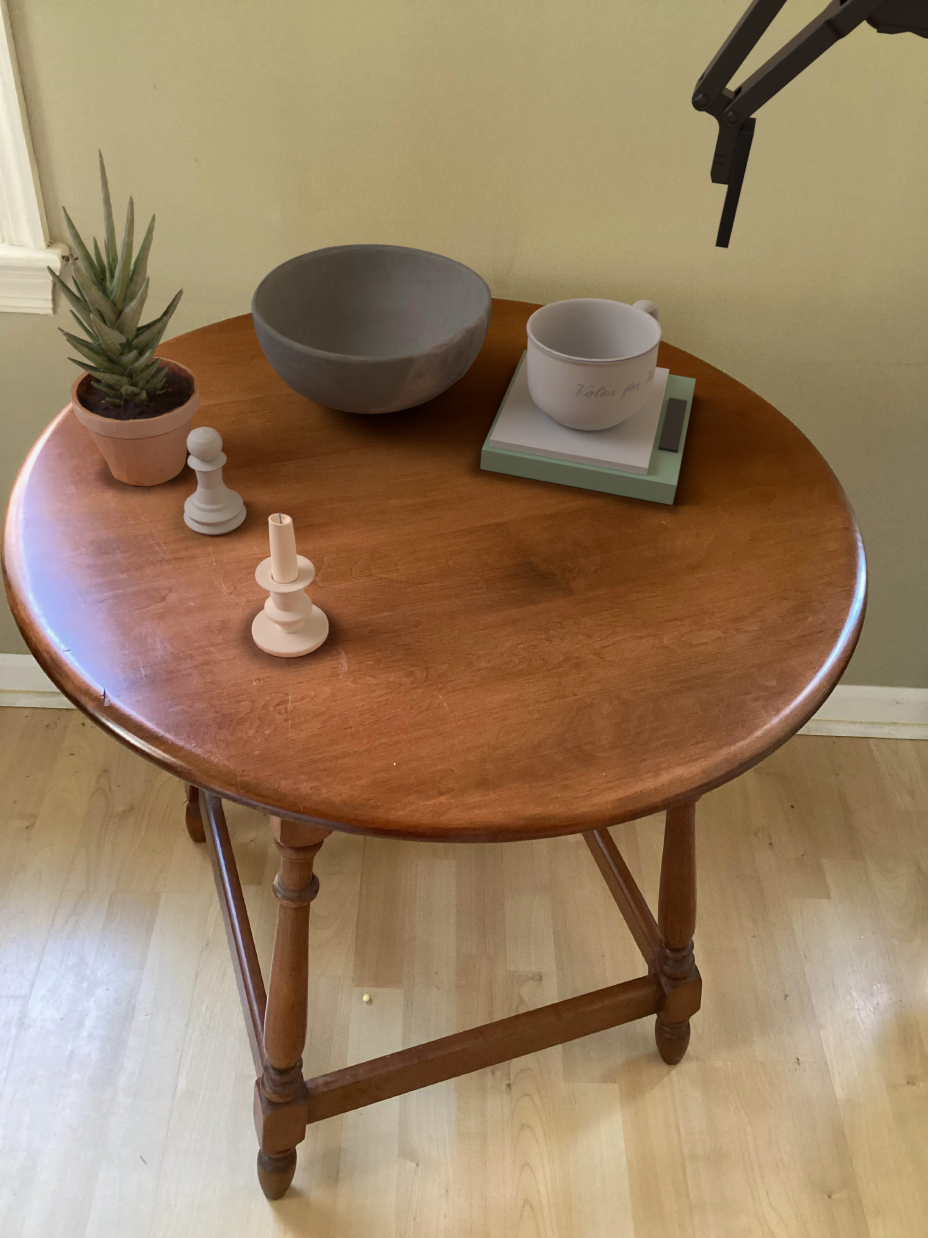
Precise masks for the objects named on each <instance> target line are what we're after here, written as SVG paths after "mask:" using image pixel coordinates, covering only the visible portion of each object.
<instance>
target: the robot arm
mask: <svg viewBox="0 0 928 1238" xmlns="http://www.w3.org/2000/svg"><path fill="white" fill-rule="evenodd" d="M787 1H788V0H752V1H751V2H750V4H749V5H748V7H747V8H746V10H745V11H744V13H743V14H742V16H741V17H740V18H739V20H738V21H737V23H736V24H735V25H734V27H733V29H732V30H731V31H730V33H729V35H728V36H727V37H726V39H725V40H724V41H723V43H722V44H721V46H720V47H719V49H718V50H717V51H716V53H715V54H714V56H713V57H712V59H711V61H710V62H709V63H708V64H707V66H706V68H705V69H704V70H703V72H702V74H700V76H699V77H698V78H697V81H696V83H695V86H694V88H693V89H694V90H693V93H692V95H691V105H692V107H693V109H694V110H695V111H697V112H700V113H701V112H702V113H703V112H705V113H706V114H708V115H710V116H712V117H713V118H714V119H715V120H716V121H717V124H718V133H717V137H716V138H717V139H716V143H715V148H714V152H713V159H712V163H711V167H710V171H709V172H710V173H709V175H710V181H711V184H718V185H723V186H727V188H726V192H725V197H724V202H723V205H722V206H723V207H722V210H721V215H720V220H719V225H718V229H717V233H716V234H717V235H716V239H715V246H714V247H715V248H723V249H729V246H730V241H731V236H732V232H733V228H734V224H735V219H736V214H737V210H738V207H739V203H740V198H741V193H742V188H743V185H744V181H745V180H744V179H745V175H746V171H747V167H748V162H749V157H750V155H751V154H750V153H751V149H752V145H753V141H754V136H755V129H756V123H757V117H751V116H753V115H754V114H755V113H756V112H757V111H758V110H760V109H761V108H762V107H763V106H764V105H765V104H766V103H768V102H769V101H770V100H771V99H773V97H775V96H776V95H777V94H778V93H779V92H780V91H781V90H783V89H784V88H785V87H787V85H788V84H790V83H791V82H793V80H794V79H796V78H797V77H798V76H799V75H800V74H801V73H803V72H804V71H805V70H806V69H807V68H809V66H810V65H811V64H812V63H814V62H815V61H816V60H817V59H819V58H820V57H821V56H822V55H823V54H824V53H826V51H828V50H829V49H830V48H831V47H832V46H834V45H835V44H836V43H837V42H838V41H840V40H842V39H844V38H846V37H847V36H848V35H850V34H851V33H852V32H853V31H854V30H855V29H857V28H858V26H860V25H861V24H862V23H864V21H865V23H866V24H867V25H869V27H871V28H872V29H875V30H876V33H877V34H884V35H898V34H899V35H900V34H903V33H911V34H913V35H917V36H918V37H920V38H923V39H926V40H928V0H831V1H830V2H829V3H828V5H827V6H826V7H825V8H824V9H823V10H822V11H821V12H820V13H819V14H818V15H817V16H815V17H814V18H813V19H812V20H810V21H809V22H808V24H806V25H805V26H804V27H803V28H802V29H801V30H800V31H799V32H797V33H796V34H795V35H794V36H793V37H792V38H791V39H790V40H789V41H788V42H786V43H785V44H784V45H783V46H782V47H781V48H780V49H778V50H777V52H775V53H774V54H773V55H772V56H771V57H769V59H768V60H766V61H765V62H764V63H763V64H762V65H761V66H759V67H758V68H757V69H756V70H755V71H754V72H753V73H752V74H751V75H749V76H748V77H747V78H746V79H745V80H744V81H743V82H741V84H740V85H738V86H737V87H736V88H735V89H734V90H732V89H730V88H728V87H727V86H728V84H729V83H730V81H731V80H732V79H733V77H734V76H735V74H736V73H737V72H738V70H739V69H740V67H741V66H742V65H743V63H744V62H745V61H746V59H747V58H748V57H749V55H750V54H751V52H752V50H753V49H754V48H755V46H756V44H757V43H758V42H759V41H760V39H761V38H762V36H763V35H764V34H765V32H766V31H767V30H768V28H769V27H770V25H771V24H772V23H773V21H774V20H775V18H776V17H777V16H778V14H779V13H780V11H781V10H782V9H783V8H784V5H786V3H787Z"/></svg>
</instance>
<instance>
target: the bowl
mask: <svg viewBox="0 0 928 1238" xmlns="http://www.w3.org/2000/svg"><path fill="white" fill-rule="evenodd" d="M492 297H493V296H492V291H491V289H490V287H489V284H488V283H487V282H486V280H485V279H484V278H483V277H482V276H480V274H479V273H477V271H475V270H473V269H472V268H470V267H469V266H467V265H466V264H464V263H462V262H459V261H457V260H455V259H452V258H450V257H447V256H445V255H442V254H439V253H435V252H432V251H428V250H423V249H420V248H415V247H414V248H413V247H410V246H409V247H408V246H403V245H393V244H381V243H379V244H378V243H358V244H343V245H334V246H327V247H323V248H318V249H315V250H312V251H309V252H305V253H303V254H299V255H297V256H295V257H292V258H290V259H288V260H286V261H284V262H281V264H279V265H277V266H276V267H275V268H273V269H272V270H271V271H269V272H268V273H267V274H266V275H265V277H263V279H262V280H261V281H260V282H259V283H258V285H257V287H256V288H255V290H254V292H253V295H252V297H251V305H250V306H251V308H250V309H251V317H252V321H253V326H254V331H255V334H256V337H257V340H258V344H259V346H260V347H261V350H262V352H263V354H264V356H265V357H266V360H267V362H268V363H269V364H270V366H271V367H272V368H273V370H274V371H275V373H276V374H277V375H278V377H279V378H280V379H281V380H282V381H283V382H284V383H285V384H286V385H287V386H288V387H289V388H291V389H292V390H293V391H295V392H296V393H297V394H299V395H300V396H302V397H304V398H306V399H308V400H310V401H312V402H314V403H316V404H319V405H321V406H324V407H326V408H330V409H332V410H336V411H340V412H345V413H350V414H361V415H381V414H389V413H395V412H401V411H404V410H408V409H411V408H414V407H418V406H420V405H422V404H425V403H427V402H429V401H432V400H433V399H435V398H436V397H438V396H439V395H441V394H443V392H445V391H446V390H448V389H449V388H450V387H452V386H453V385H454V384H456V383H457V382H458V381H459V380H460V379H462V378H463V377H464V376H465V375H466V373H467V372H468V370H469V369H470V368H471V367H472V365H473V364H474V363H475V361H476V359H477V357H478V355H479V353H480V352H481V350H482V347H483V345H484V342H485V340H486V337H487V334H488V331H489V326H490V323H491V316H492V304H493V299H492Z"/></svg>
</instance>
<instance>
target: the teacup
mask: <svg viewBox="0 0 928 1238" xmlns="http://www.w3.org/2000/svg"><path fill="white" fill-rule="evenodd" d="M659 322H660V309H659V306H658V304H657V303H655V302H654V301H652V300H649V299H646V298H645V299H643V298H642V299H641V298H640V299H639V300H637V301H636V302H634V303H633V304H628V303H626V302H623V301H618V300H613V299H607V298H597V297H586V298H583V297H582V298H581V297H579V298H570V299H564V300H559V301H555V302H552V303H548V304H546V305H544V306H543V307H540V308H539V309H537V310H535V312H533V313H532V314H531V315H530V317H529V318H528V319H527V321H526V334H527V349H526V350H527V381H528V388H529V391H530V395H531V397H532V399H533V401H534V402H535V403H536V405H537V406H538V407H539V408H540V409H541V410H542V411H543V412H545V413H546V414H547V415H549V416H550V417H551V418H552V419H553V420H555V421H556V422H558V423H560V424H562V425H564V426H567V427H570V428H574V429H579V430H601V429H606V428H610V427H613V426H615V425H617V424H619V423H621V422H622V421H624V420H626V419H628V418H630V417H632V416H633V415H634V414H636V413H637V412H638V411H639V410H640V409H641V408H642V407H643V406H644V405H645V403H646V401H647V399H648V397H649V395H650V392H651V389H652V384H653V380H654V375H655V369H656V367H657V362H658V354H659V347H660V344H661V341H662V339H663V331H662V326H661V324H660V323H659Z"/></svg>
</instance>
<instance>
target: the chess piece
mask: <svg viewBox="0 0 928 1238" xmlns="http://www.w3.org/2000/svg"><path fill="white" fill-rule="evenodd" d="M222 449H223V438H222V436H221V435H220V433H219V432H218V431H217V430H216V429H215V428H213V427H209V426H200V427H196V428H194V429H192V430H190V434H189V436H188V438H187V451H188V452H189V454H190V455H189V456H188V458H187V465H188V467H190V468H191V469H192V470H194V471H195V476H196V479H197V486H196V490H195V492H193V493H192V494H190V495H189V496H188V497H187V499H186V500H185V501H184V504H183V509H184V512H183V520H184V523H185V524H186V526H187V527H189V529H191V530H193V531H194V532H196V533H198V534H201V535H206V536H218V535H225V534H228V533H230V532H232V531H235V530H236V529H237V528H239V527H240V526H241V524H242V523H243V522H244V521H245V519H246V517H247V509H246V506H245V505H244V500H243V497H242V496H241V494H239V493H238V492H237V491H235V490H233V489H230V488H228V487H227V486H226V484H225V481H223V470H222V467H223V466H224V465H225V464H226V463H227V456H226V454H225V452H223V451H222Z"/></svg>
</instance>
